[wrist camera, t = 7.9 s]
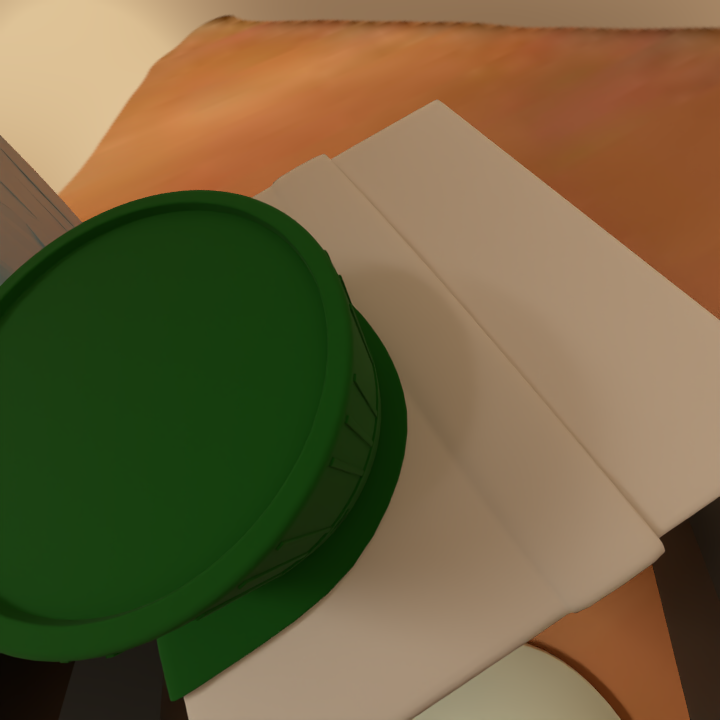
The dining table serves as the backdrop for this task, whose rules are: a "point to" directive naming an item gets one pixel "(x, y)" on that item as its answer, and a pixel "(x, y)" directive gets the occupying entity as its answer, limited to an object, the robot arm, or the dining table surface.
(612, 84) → the dining table surface
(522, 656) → the pale green disc
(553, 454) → the soya milk
